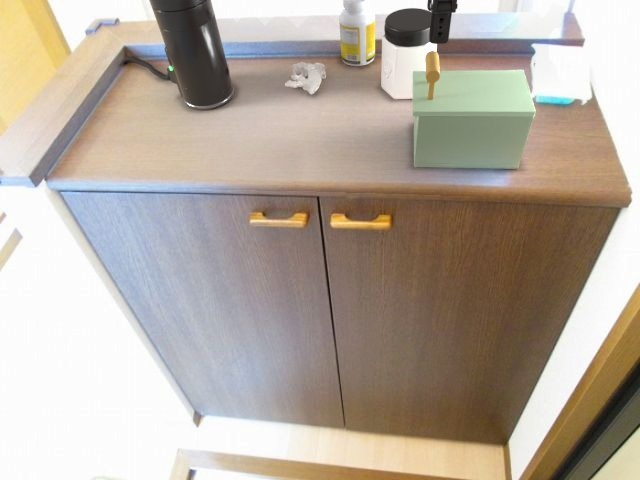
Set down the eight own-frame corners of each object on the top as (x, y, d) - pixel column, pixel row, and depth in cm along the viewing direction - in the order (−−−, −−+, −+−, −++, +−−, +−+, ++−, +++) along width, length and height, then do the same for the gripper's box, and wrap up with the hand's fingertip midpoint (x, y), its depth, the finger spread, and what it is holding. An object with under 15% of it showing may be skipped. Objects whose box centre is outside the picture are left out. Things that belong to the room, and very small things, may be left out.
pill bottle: (375, 50, 91) (375, -12, 82) (374, 67, 87) (374, 4, 78) (342, 51, 92) (339, -11, 83) (340, 68, 88) (336, 5, 79)
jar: (373, 82, 84) (374, 15, 75) (412, 69, 86) (417, 2, 76) (399, 106, 78) (403, 37, 69) (440, 92, 80) (449, 22, 71)
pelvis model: (291, 54, 85) (326, 51, 84) (296, 75, 89) (330, 73, 87) (281, 77, 80) (318, 74, 79) (287, 98, 83) (323, 96, 82)
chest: (414, 167, 68) (418, 116, 62) (413, 125, 75) (417, 76, 68) (517, 169, 66) (534, 117, 59) (508, 126, 72) (522, 75, 66)
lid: (412, 116, 62) (415, 81, 58) (412, 75, 68) (415, 41, 64) (534, 116, 59) (545, 80, 55) (522, 74, 66) (531, 39, 62)
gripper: (414, -154, 50) (406, 1, 62) (415, -119, 41) (405, 55, 53) (486, -161, 49) (464, -1, 61) (504, -126, 40) (473, 54, 52)
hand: (436, 25), depth 57 cm, fingers open, 8 cm apart
